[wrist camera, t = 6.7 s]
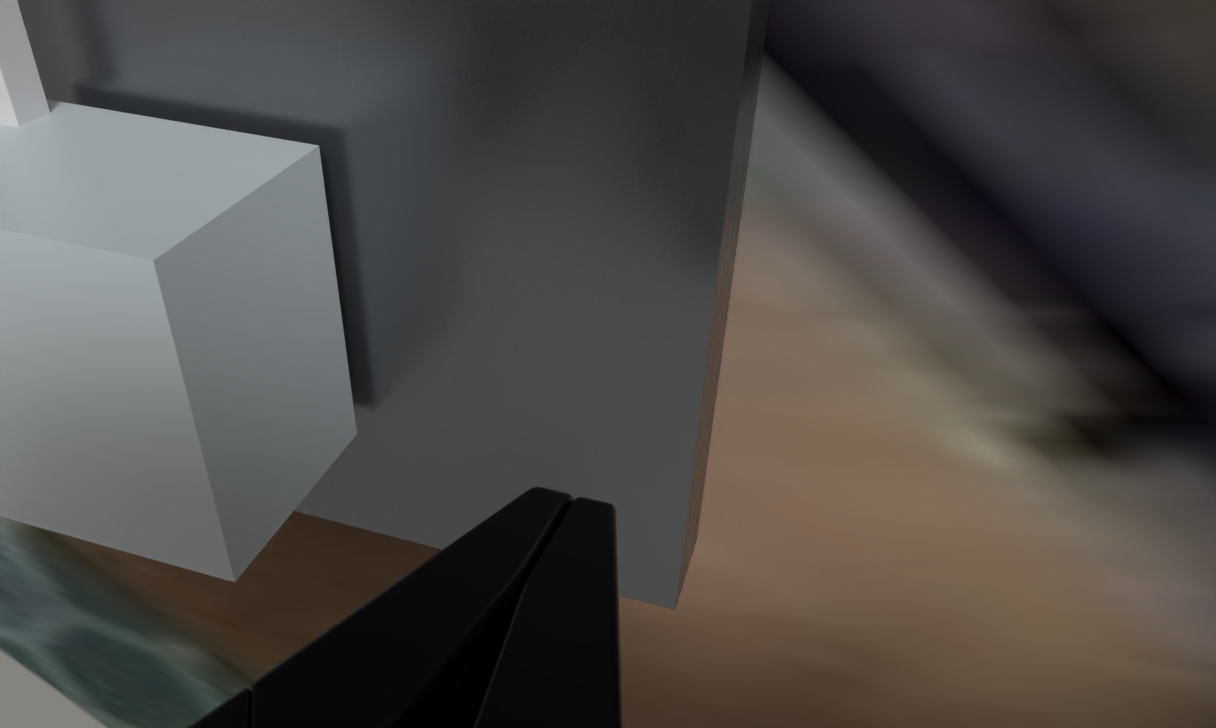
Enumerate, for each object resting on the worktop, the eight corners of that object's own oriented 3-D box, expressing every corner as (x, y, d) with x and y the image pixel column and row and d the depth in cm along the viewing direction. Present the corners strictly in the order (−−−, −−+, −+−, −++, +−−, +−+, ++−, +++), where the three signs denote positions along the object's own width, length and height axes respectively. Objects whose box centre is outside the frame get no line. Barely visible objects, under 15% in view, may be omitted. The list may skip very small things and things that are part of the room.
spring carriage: (283, -126, 10) (69, -71, 7) (357, 433, 14) (235, 582, 12) (-40, -160, 11) (-324, -120, 8) (121, 377, 15) (-39, 506, 12)
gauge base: (790, -148, 10) (681, -52, 6) (695, 541, 16) (608, 823, 12) (-420, -256, 14) (-986, -239, 10) (-138, 338, 19) (-420, 502, 15)
